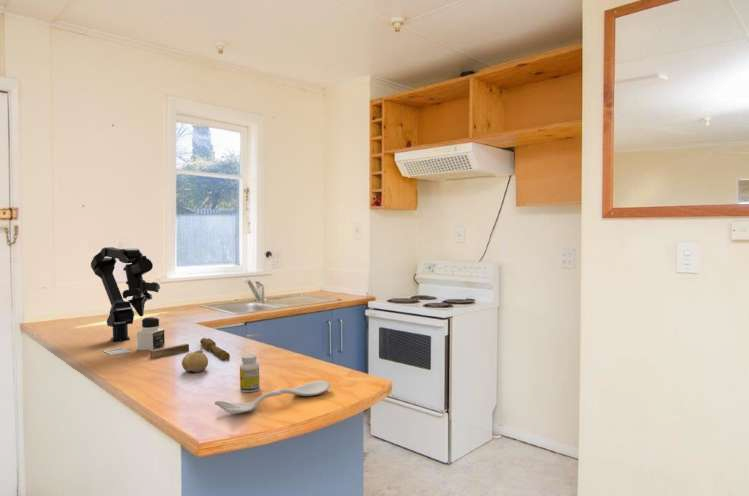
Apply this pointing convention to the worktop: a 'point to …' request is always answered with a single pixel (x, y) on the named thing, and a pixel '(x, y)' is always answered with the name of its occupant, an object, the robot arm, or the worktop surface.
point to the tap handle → (214, 348)
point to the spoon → (302, 390)
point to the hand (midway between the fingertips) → (141, 316)
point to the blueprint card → (116, 351)
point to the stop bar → (169, 350)
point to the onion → (195, 361)
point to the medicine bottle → (150, 335)
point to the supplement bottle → (249, 374)
